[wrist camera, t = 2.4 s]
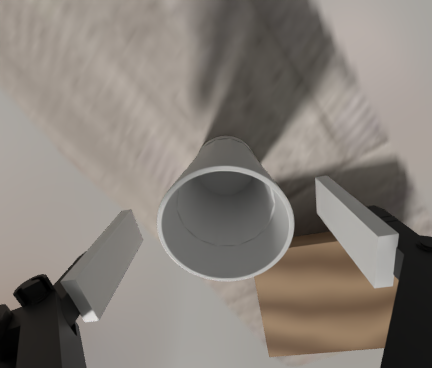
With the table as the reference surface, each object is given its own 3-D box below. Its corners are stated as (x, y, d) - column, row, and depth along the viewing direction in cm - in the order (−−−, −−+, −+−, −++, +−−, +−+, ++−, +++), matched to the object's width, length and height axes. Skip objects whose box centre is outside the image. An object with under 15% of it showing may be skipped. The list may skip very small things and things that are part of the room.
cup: (245, 113, 22) (265, 140, 11) (273, 182, 25) (311, 259, 14) (175, 147, 23) (130, 199, 12) (208, 208, 26) (195, 295, 15)
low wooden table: (244, 218, 27) (249, 253, 21) (370, 199, 25) (410, 231, 19) (261, 311, 33) (269, 357, 27) (363, 301, 31) (393, 347, 25)
